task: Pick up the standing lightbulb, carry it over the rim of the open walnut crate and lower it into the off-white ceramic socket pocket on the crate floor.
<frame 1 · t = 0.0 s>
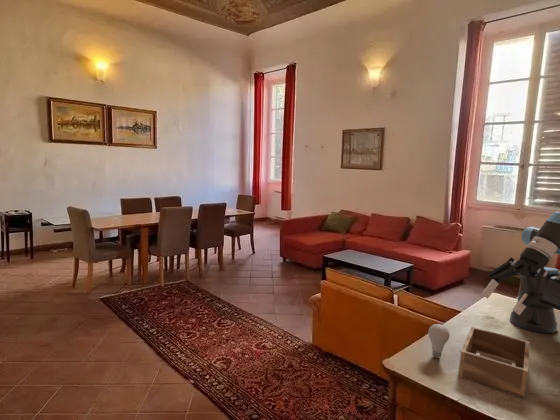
hand: (499, 303, 122), 15 cm above the table, tool tilted 35°, fingers open, 13 cm apart
crate: (493, 370, 110), on the table
lightbulb: (436, 358, 116), on the table
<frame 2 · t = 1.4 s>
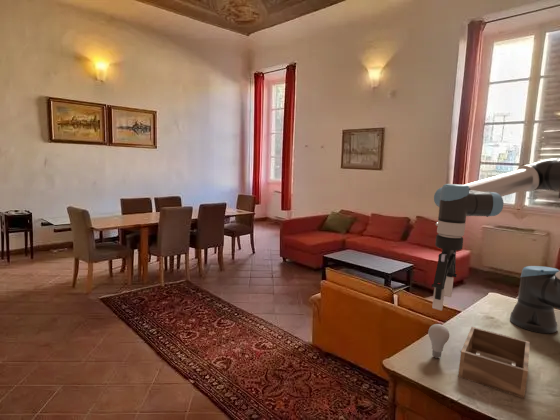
hand: (442, 302, 113), 18 cm above the table, tool pointing down, fingers open, 13 cm apart
nothing on the table moved.
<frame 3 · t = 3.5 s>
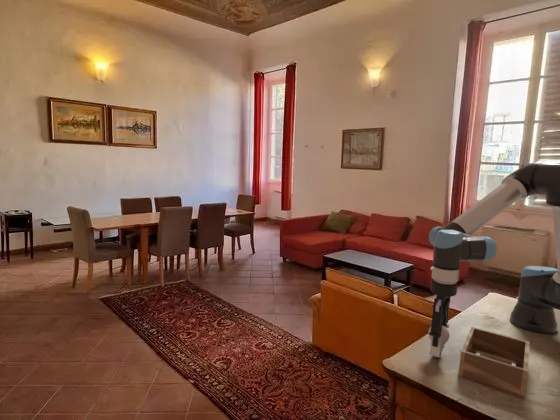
hand: (437, 350, 116), 2 cm above the table, tool pointing down, fingers closed on lightbulb, 6 cm apart
lightbulb: (436, 358, 116), on the table, touching gripper
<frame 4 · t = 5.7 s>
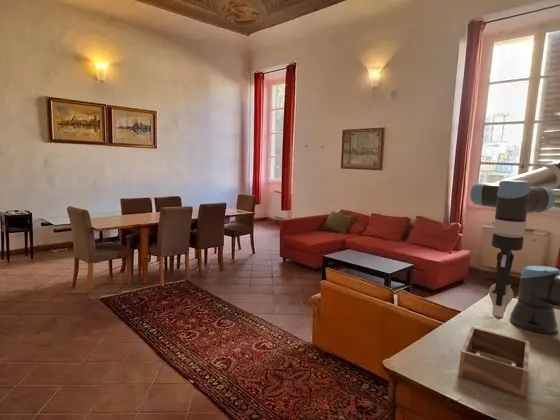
hand: (498, 311, 107), 19 cm above the table, tool pointing down, fingers closed on lightbulb, 6 cm apart
lightbulb: (497, 319, 108), point 16 cm above the table, touching gripper
when the fingers open (4 cm above the table, at t = 7.9 s): lightbulb drops 1 cm, resting on crate.
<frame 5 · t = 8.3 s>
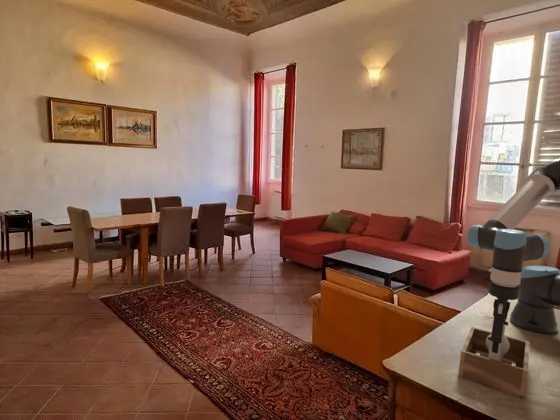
hand: (495, 353, 109), 6 cm above the table, tool pointing down, fingers open, 11 cm apart
lightbulb: (493, 368, 110), point 1 cm above the table, touching crate
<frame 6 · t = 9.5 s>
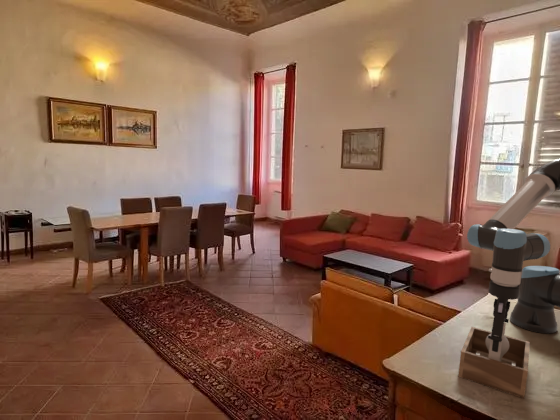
hand: (496, 351, 109), 6 cm above the table, tool pointing down, fingers open, 13 cm apart
nothing on the table moved.
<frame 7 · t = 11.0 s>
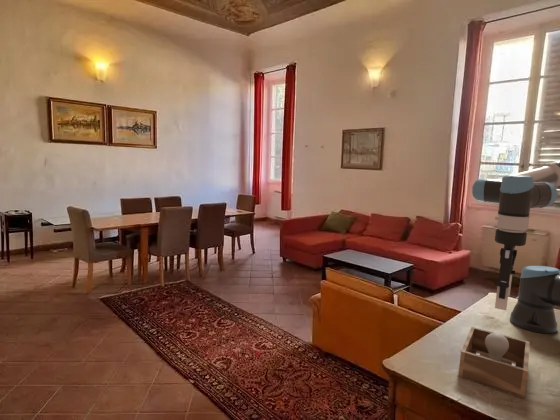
hand: (502, 301, 107), 22 cm above the table, tool pointing down, fingers open, 13 cm apart
nothing on the table moved.
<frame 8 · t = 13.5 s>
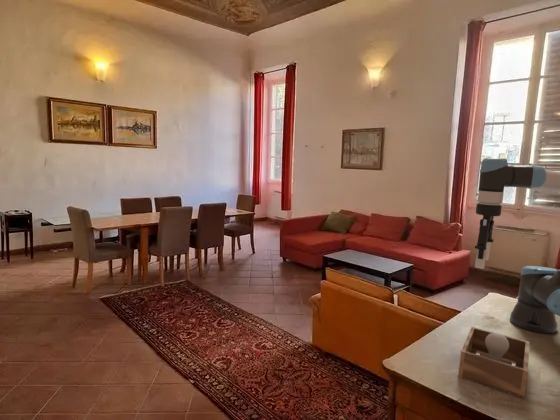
hand: (482, 263, 128), 27 cm above the table, tool pointing down, fingers open, 13 cm apart
nothing on the table moved.
at the end: lightbulb inside the target area on the crate (0.0 cm from its centre), point 0.6 cm above the crate's base; the gripper is holding nothing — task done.
